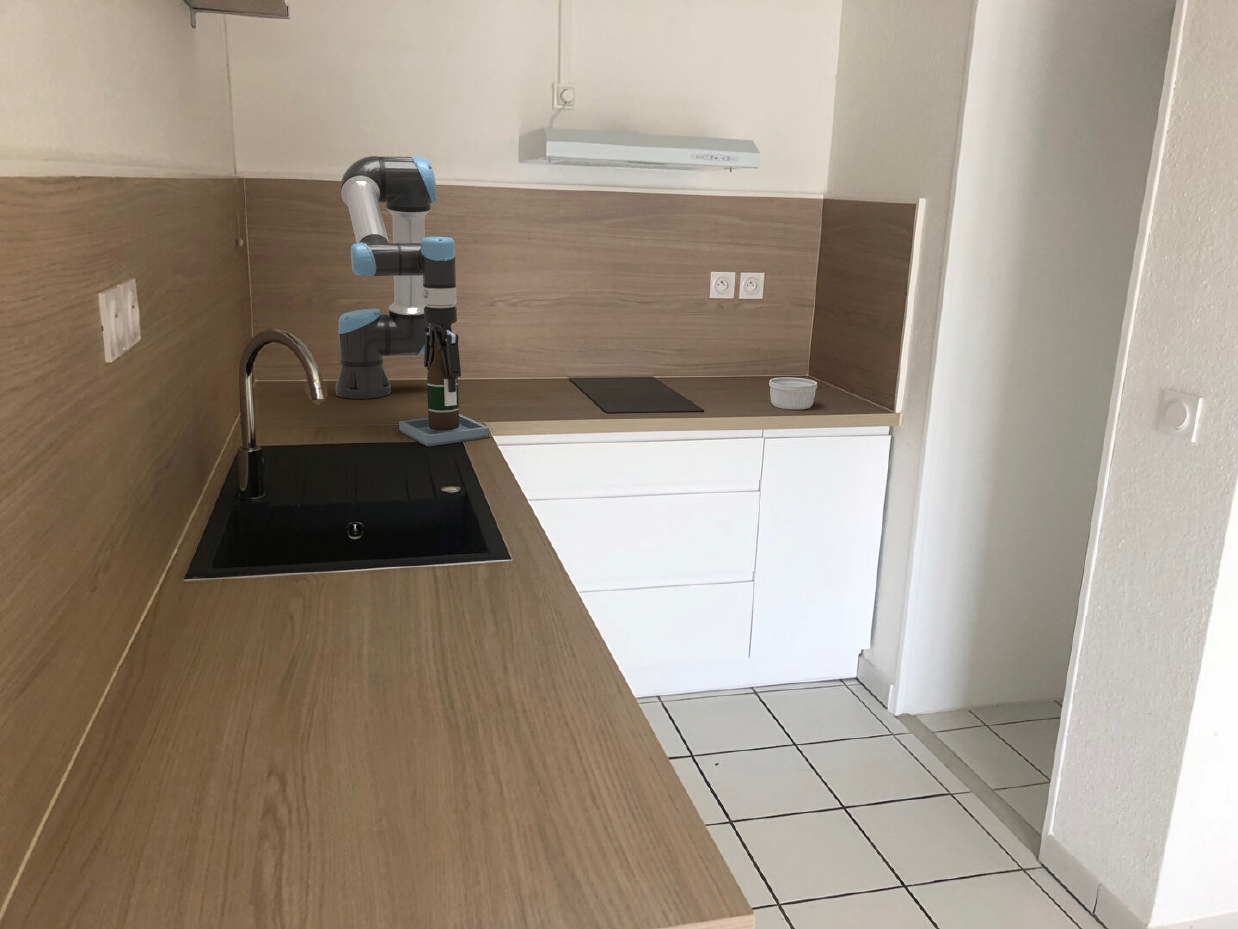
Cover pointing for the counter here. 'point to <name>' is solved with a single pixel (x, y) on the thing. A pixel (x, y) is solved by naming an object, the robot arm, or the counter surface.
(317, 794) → the counter surface
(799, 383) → the ramekin
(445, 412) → the beer bottle
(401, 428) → the dish
